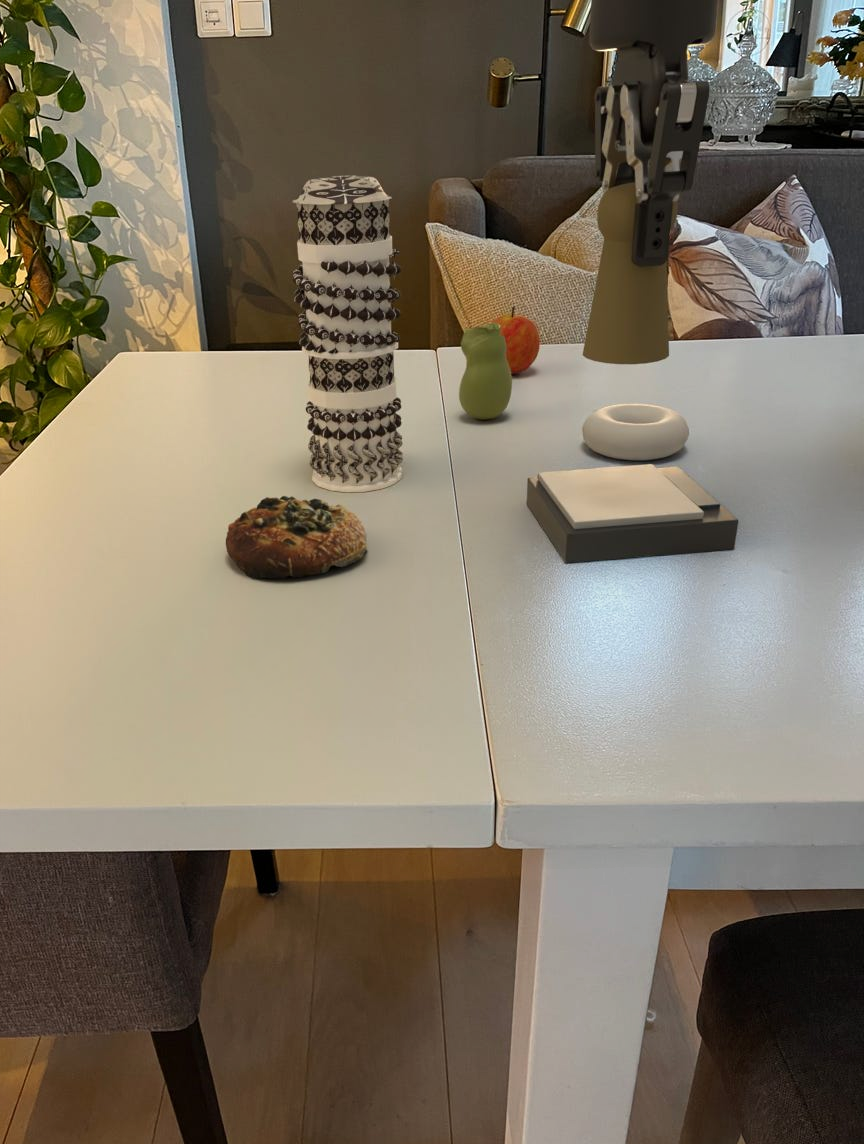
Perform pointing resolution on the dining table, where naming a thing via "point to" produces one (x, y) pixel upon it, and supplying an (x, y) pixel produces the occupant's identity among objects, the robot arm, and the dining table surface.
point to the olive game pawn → (626, 291)
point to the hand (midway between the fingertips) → (633, 257)
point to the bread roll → (294, 538)
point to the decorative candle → (349, 332)
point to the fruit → (519, 341)
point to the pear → (485, 372)
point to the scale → (628, 513)
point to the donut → (635, 432)
